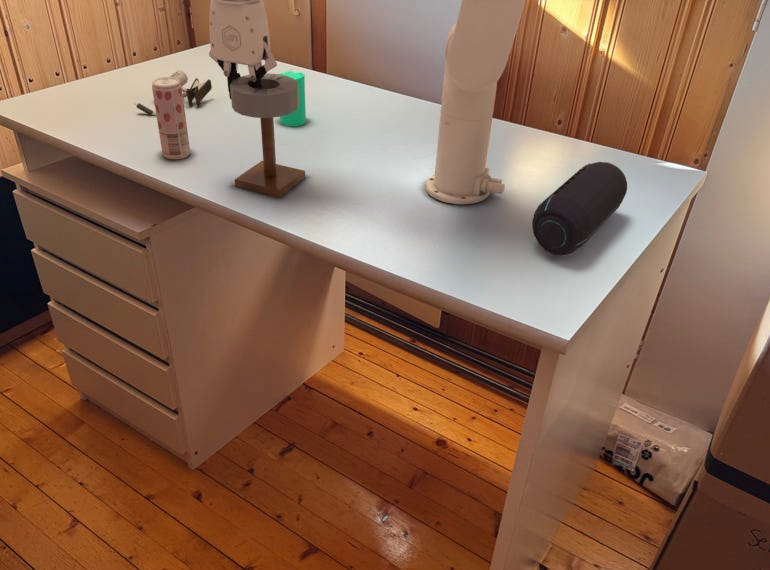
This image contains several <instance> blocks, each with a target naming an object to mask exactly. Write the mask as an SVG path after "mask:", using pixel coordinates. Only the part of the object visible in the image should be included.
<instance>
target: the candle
mask: <svg viewBox="0 0 770 570" xmlns="http://www.w3.org/2000/svg"><path fill="white" fill-rule="evenodd" d="M279 74H280V75H285V76H288V77H291V78H293V79H295V80H296V81H297V82H298V93H299V106H298V109H297V110H296V111H294V112H293V113H291V114H288V115H285V116H281V117H279V122H280V124H281V125H283V126H286V127H300V126H303V125H305V124H306V123H307V121H306V119H307V118H306V117H307V116H306V81H305V80H306V79H305V78H306V77H305V76H306V75H305V73H303V72H294V71H293V70H290V71H285V72H282V73H279Z"/></svg>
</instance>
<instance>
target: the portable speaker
mask: <svg viewBox="0 0 770 570" xmlns="http://www.w3.org/2000/svg"><path fill="white" fill-rule="evenodd" d="M627 192H628V182H627V178H626V176H625V173H624V172H623V171H622V170H621V168H620V167H618V166H617V165H615V164H613V163H610V162H607V161H597V162H592V163H587V164H585V165H584V166H582V167H581V168H580V169H578V170H577V171H576V172H575V173H574V174H573V175H572V176H570V177H569V178H568V179H567V180H566V181H564V182H563V184H561V185H560V186H558V188H557V189H556V190H554V191H553V192H552V193H550V195H549V196H547V198H545V199H544V200H543V201H542V202H541V203H539V204H538V206H537V208H536V210H535V211H534V214H533V216H532V219H531V227H532V232H533V236H534V238H535V240H536V242H537V243H538V245H539V246H540V247H541V248H542V249H543V250H544V251H546V252H547V253H549V254H551V255H554V256H568V255H571V254H572V253H575V251H577V250H579V249H580V248H582V247H583V246H584V245H585V244H586V243H587V242H588V241H589V240H590V239H591V238H592V237H593V236H594V235H595V233H597V232H598V230H599V229H600V228H601V227H602V226H603V225H604V224H605V223H606V222H607V221H608V219H610V217H612V216H613V214H614V213H615V212H616V211H617V210H618V209H619V207H620V206H621V205H622V203H623V201H624V199H625V197H626V195H627Z"/></svg>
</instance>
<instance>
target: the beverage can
mask: <svg viewBox="0 0 770 570" xmlns="http://www.w3.org/2000/svg"><path fill="white" fill-rule="evenodd" d="M151 85H152V86H151V91H152V98H153V103H154V109H155V114H156V115H155V116H156V120H157V122H156V123H157V127H158V134H159V140H160V146H161V153H162V156H164V158H166V159H169V160H182V159H185V158H187V157H189V155H190V154H191V147H190V146H191V145H190V139H189V131H188V126H187V125H188V123H187V116H186V110H185V103H184V96H183V95H182V94H183V91H182V87H183V86H182V87H181V84H180V81H179V79H177V78H173V77H169V76H162V77H157V78H155V79H153V80H152V82H151Z"/></svg>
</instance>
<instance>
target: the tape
mask: <svg viewBox="0 0 770 570" xmlns="http://www.w3.org/2000/svg"><path fill="white" fill-rule="evenodd" d="M280 74H281V73H268V72H267V73H266V74H265V75H264V77H263V78H261V84H262V89H256V88H252V87H250V86H249V85H248V82H249V81H251V79H250V74H246V75H242V76H241V75H240V76H241V77H238V78H236V79H234V80H233V81H232V82H231V84H230V91H231V99H230V101H231V108H232V109H233V111H234V113H237V114H239V115H241V116H245V117H249V118H250V117H251V118H255V119H260V118H273V119H274V118H280V117H281V116H285V115H288V114H291V113H293V112H294V111H296V110H297V109H298V106H299V93H298V82H297V81H296V80H295V79H293V78H291V77H288V76H285V75H280Z"/></svg>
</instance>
